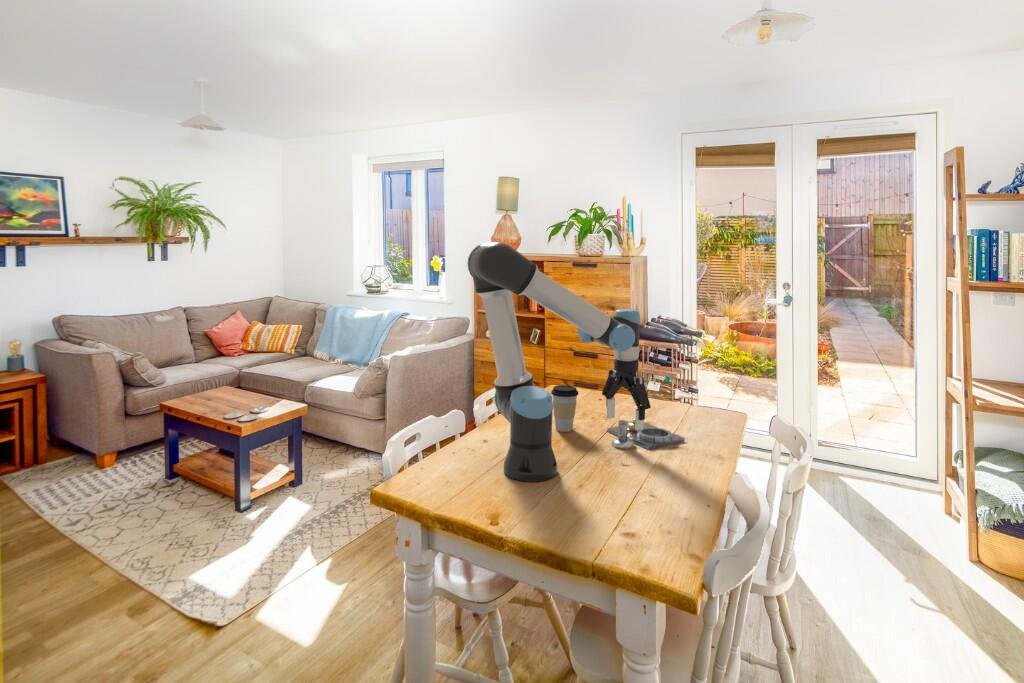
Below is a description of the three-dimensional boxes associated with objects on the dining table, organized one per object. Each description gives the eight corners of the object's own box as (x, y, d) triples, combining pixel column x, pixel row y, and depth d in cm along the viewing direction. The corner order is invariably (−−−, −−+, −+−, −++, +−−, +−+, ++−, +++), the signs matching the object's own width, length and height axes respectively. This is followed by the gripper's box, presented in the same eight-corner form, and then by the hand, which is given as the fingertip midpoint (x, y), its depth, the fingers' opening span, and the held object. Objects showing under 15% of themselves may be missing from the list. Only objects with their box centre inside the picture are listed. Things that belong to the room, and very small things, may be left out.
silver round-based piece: (621, 450, 178) (622, 426, 176) (606, 444, 184) (607, 420, 182) (638, 446, 181) (639, 422, 180) (623, 440, 187) (624, 417, 186)
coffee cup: (577, 425, 202) (578, 384, 199) (577, 434, 192) (578, 391, 190) (550, 424, 203) (551, 384, 200) (549, 433, 193) (550, 390, 191)
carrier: (648, 449, 179) (649, 435, 178) (607, 431, 196) (607, 418, 195) (684, 441, 187) (685, 427, 186) (642, 424, 204) (642, 411, 203)
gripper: (664, 364, 169) (661, 432, 173) (609, 351, 190) (608, 411, 194) (645, 367, 165) (642, 436, 169) (592, 353, 187) (590, 415, 190)
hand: (624, 423), depth 181 cm, fingers open, 13 cm apart
